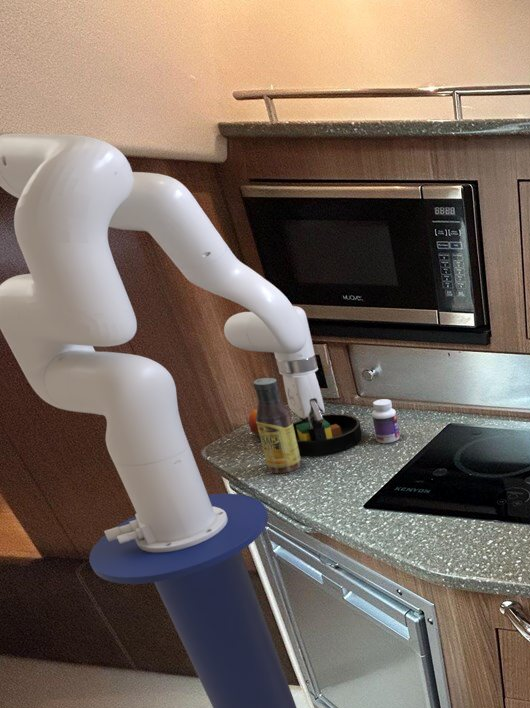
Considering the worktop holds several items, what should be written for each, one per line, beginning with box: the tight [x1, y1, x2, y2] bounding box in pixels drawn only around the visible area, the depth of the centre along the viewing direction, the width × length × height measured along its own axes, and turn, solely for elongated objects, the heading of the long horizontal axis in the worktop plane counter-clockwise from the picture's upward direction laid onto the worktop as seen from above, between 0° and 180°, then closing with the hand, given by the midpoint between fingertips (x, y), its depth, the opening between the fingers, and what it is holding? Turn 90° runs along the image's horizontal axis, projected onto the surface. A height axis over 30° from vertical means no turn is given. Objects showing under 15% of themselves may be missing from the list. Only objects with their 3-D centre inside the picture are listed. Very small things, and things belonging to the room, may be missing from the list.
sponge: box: [296, 419, 333, 441], centre depth 117 cm, size 6×4×4 cm, turn 137°
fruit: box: [248, 409, 260, 438], centre depth 120 cm, size 8×8×8 cm
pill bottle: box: [371, 398, 401, 444], centre depth 120 cm, size 5×5×10 cm
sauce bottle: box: [252, 377, 302, 474], centre depth 103 cm, size 6×6×20 cm
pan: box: [293, 413, 363, 458], centre depth 121 cm, size 16×22×4 cm
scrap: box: [330, 424, 342, 437], centre depth 120 cm, size 2×2×2 cm
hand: (315, 438), depth 118 cm, fingers closed on sponge, 4 cm apart
